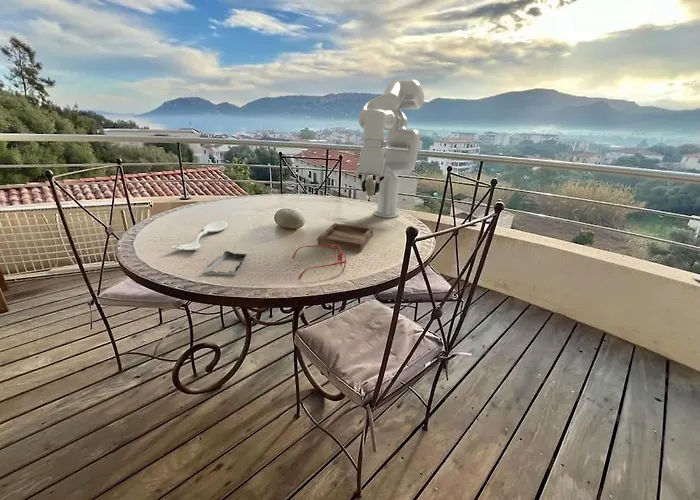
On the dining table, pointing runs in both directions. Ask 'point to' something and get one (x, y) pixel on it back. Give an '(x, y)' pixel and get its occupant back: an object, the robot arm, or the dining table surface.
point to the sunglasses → (328, 264)
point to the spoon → (209, 227)
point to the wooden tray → (346, 237)
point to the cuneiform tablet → (369, 186)
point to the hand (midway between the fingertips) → (370, 191)
